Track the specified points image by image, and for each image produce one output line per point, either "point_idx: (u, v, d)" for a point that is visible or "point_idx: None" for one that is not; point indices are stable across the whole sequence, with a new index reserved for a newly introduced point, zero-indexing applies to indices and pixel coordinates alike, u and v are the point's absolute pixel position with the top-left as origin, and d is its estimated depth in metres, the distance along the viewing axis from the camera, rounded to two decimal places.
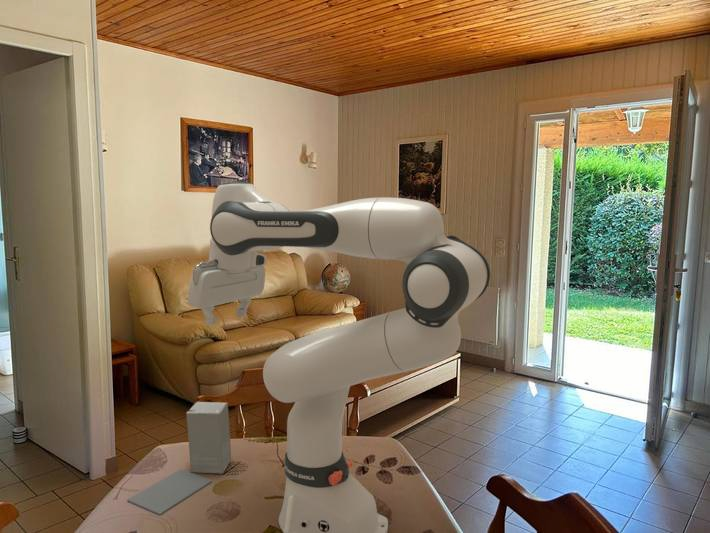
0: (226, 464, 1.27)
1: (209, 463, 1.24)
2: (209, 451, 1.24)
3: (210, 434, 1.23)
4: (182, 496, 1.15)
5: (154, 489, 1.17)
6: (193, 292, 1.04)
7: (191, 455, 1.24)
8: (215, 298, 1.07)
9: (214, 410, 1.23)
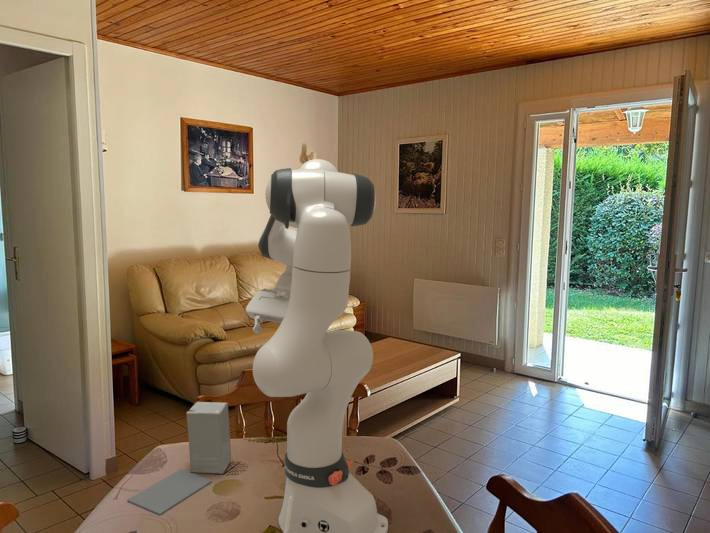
0: (226, 464, 1.27)
1: (209, 463, 1.24)
2: (209, 451, 1.24)
3: (210, 434, 1.23)
4: (182, 496, 1.15)
5: (154, 489, 1.17)
6: None
7: (191, 455, 1.24)
8: (258, 308, 1.43)
9: (214, 410, 1.23)
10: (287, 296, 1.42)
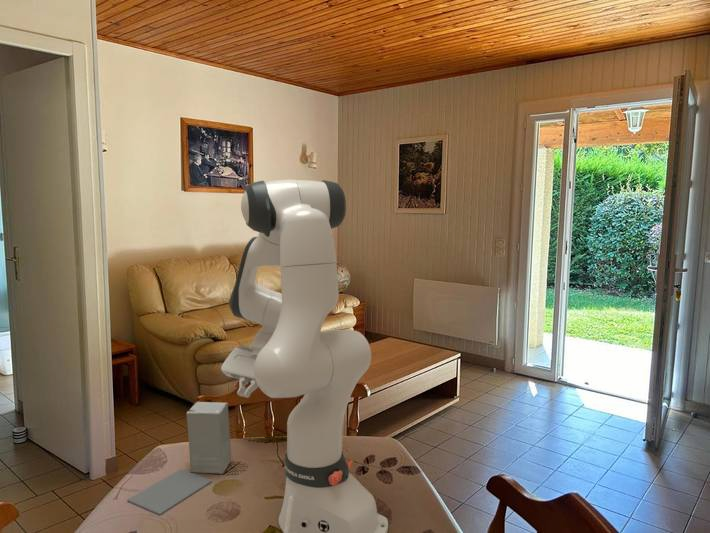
0: (226, 464, 1.27)
1: (209, 463, 1.24)
2: (209, 451, 1.24)
3: (210, 434, 1.23)
4: (182, 496, 1.15)
5: (154, 489, 1.17)
6: None
7: (191, 455, 1.24)
8: (233, 367, 1.41)
9: (214, 410, 1.23)
10: None
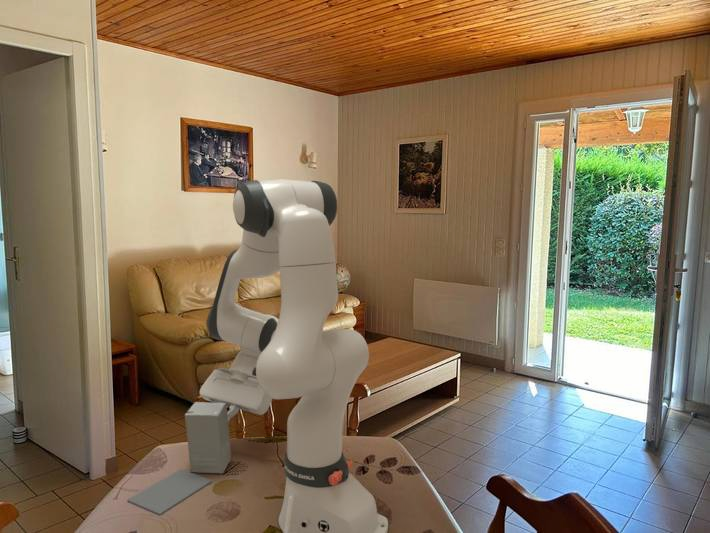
0: (226, 463, 1.27)
1: (208, 463, 1.24)
2: (208, 452, 1.23)
3: (209, 436, 1.22)
4: (182, 496, 1.15)
5: (154, 489, 1.17)
6: None
7: (191, 456, 1.24)
8: (212, 391, 1.34)
9: (212, 412, 1.22)
10: (242, 379, 1.33)
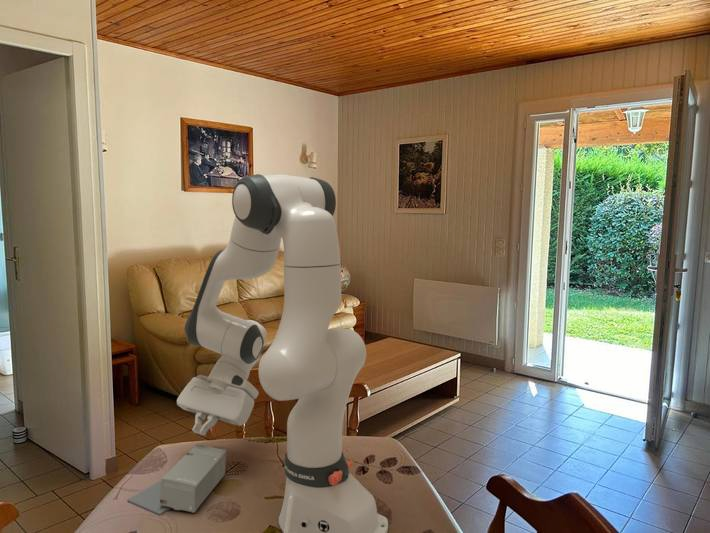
0: (224, 467, 1.22)
1: None
2: None
3: None
4: None
5: (154, 489, 1.17)
6: None
7: None
8: (189, 401, 1.28)
9: (187, 506, 1.09)
10: (221, 388, 1.26)
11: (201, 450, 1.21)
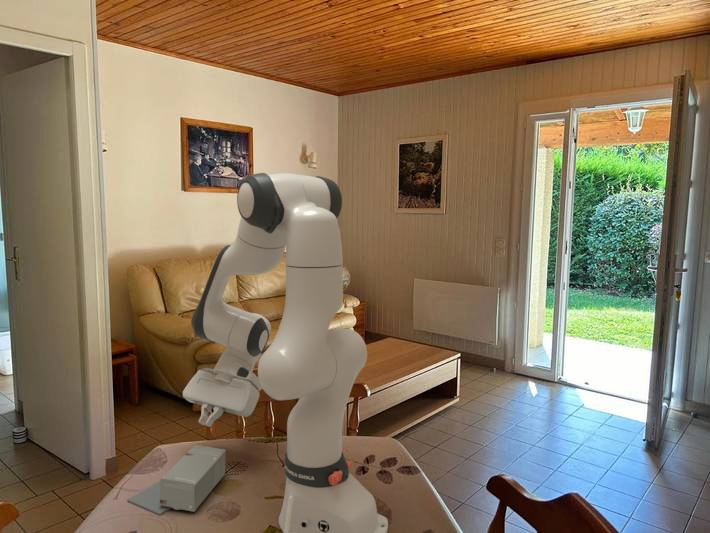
0: (223, 466, 1.23)
1: None
2: None
3: None
4: None
5: (154, 489, 1.17)
6: None
7: None
8: (195, 393, 1.29)
9: (186, 505, 1.09)
10: (227, 380, 1.28)
11: (200, 450, 1.22)
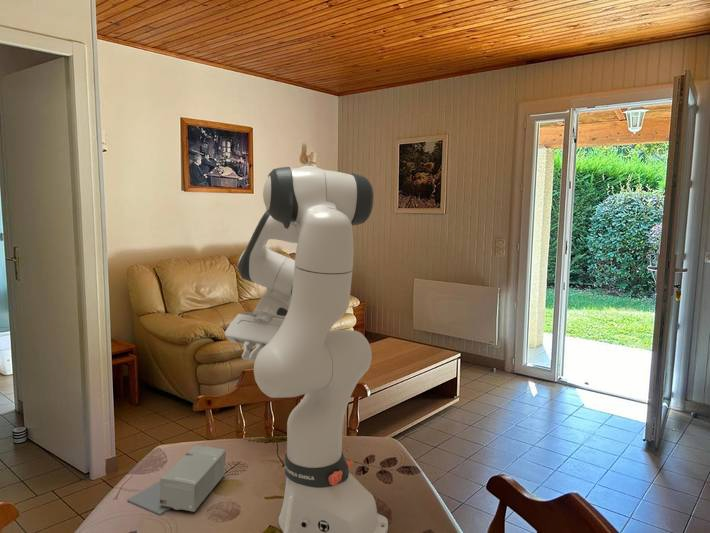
0: (223, 466, 1.23)
1: None
2: None
3: None
4: None
5: (154, 489, 1.17)
6: None
7: None
8: (237, 332, 1.39)
9: (186, 505, 1.09)
10: (267, 320, 1.37)
11: (200, 450, 1.22)
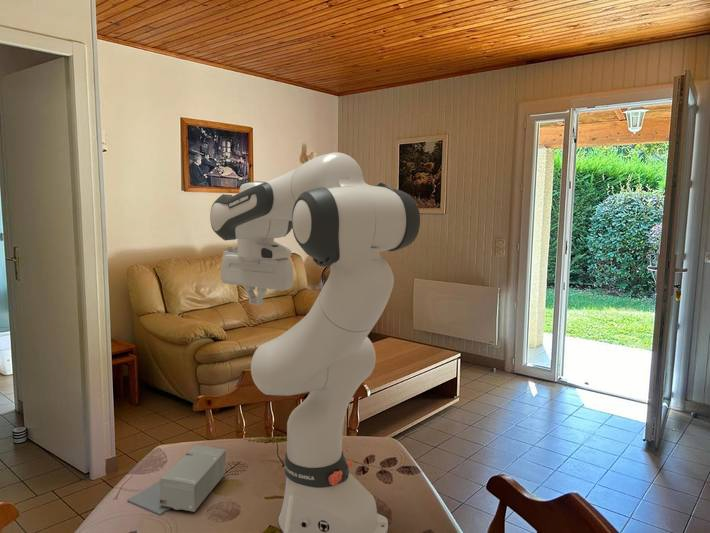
0: (223, 466, 1.23)
1: None
2: None
3: None
4: None
5: (154, 489, 1.17)
6: None
7: None
8: (233, 278, 1.30)
9: (186, 505, 1.09)
10: (255, 262, 1.26)
11: (200, 450, 1.22)
